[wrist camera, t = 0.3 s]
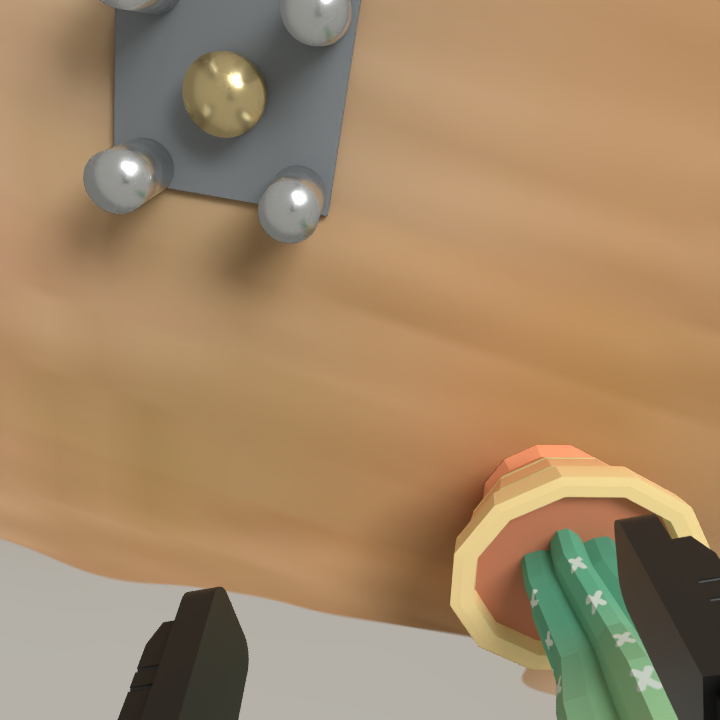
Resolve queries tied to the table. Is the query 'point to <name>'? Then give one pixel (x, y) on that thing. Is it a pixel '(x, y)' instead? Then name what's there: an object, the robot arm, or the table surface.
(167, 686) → the robot arm
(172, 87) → the mat
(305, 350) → the table surface
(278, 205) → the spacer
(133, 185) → the cylinder
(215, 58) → the brushed gold puck
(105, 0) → the cylinder
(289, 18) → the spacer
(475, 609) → the potted cactus
